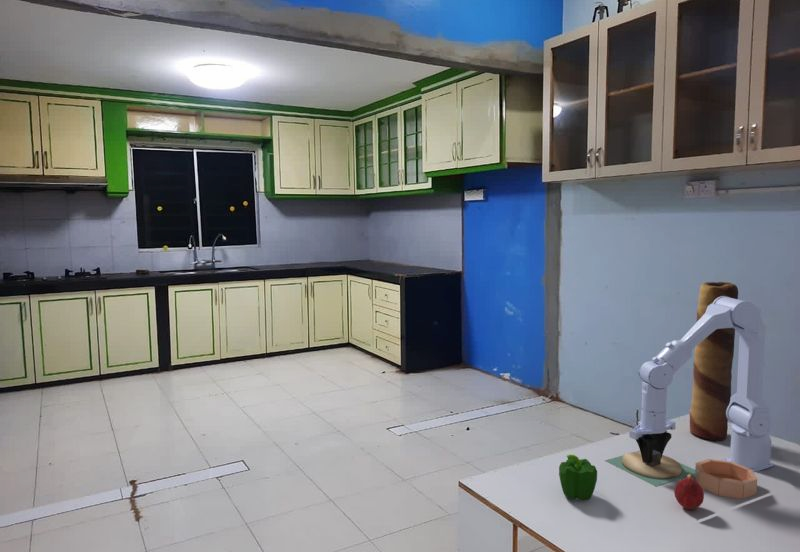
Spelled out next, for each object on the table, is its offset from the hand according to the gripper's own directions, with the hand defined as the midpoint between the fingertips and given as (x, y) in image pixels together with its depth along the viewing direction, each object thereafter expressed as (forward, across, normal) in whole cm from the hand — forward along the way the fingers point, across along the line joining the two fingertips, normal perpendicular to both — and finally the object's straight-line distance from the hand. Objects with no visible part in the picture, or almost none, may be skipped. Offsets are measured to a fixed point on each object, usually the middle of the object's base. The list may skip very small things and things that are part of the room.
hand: (651, 460), depth 144 cm
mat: (+2, 0, 0) cm, 2 cm away
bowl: (+2, -7, +15) cm, 17 cm away
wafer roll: (+2, -33, -7) cm, 34 cm away
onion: (+2, +10, +18) cm, 21 cm away
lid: (+2, 0, 0) cm, 2 cm away
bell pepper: (+2, +27, +2) cm, 27 cm away
